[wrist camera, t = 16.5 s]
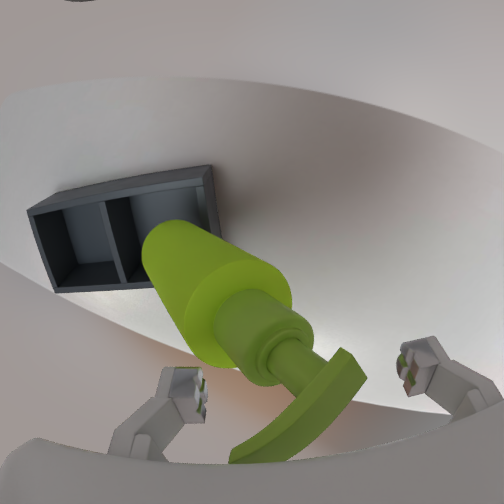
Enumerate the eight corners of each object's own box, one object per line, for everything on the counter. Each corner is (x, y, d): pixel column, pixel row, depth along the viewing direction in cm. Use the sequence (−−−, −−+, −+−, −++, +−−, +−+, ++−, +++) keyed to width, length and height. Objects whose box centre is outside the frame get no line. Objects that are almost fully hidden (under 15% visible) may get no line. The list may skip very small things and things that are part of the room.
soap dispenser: (118, 262, 24) (191, 458, 7) (178, 205, 25) (369, 280, 8) (164, 307, 27) (289, 489, 10) (219, 254, 28) (406, 369, 11)
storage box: (55, 193, 33) (26, 210, 27) (211, 164, 32) (202, 176, 26) (77, 267, 37) (55, 293, 31) (224, 254, 37) (219, 283, 31)
